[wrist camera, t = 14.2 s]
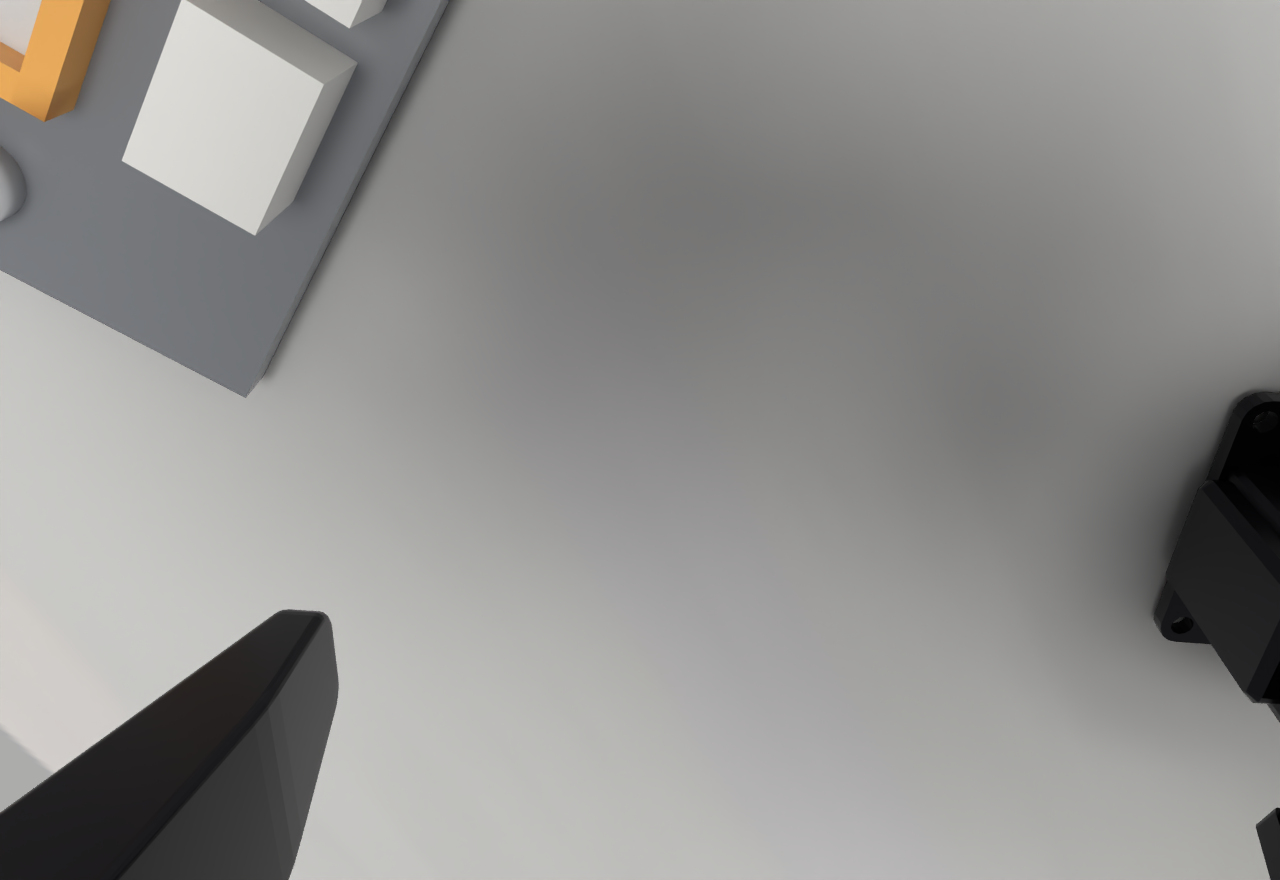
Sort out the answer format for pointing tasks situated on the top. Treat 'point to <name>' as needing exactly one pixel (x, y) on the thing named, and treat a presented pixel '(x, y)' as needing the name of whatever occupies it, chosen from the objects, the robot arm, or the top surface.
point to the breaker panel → (171, 232)
